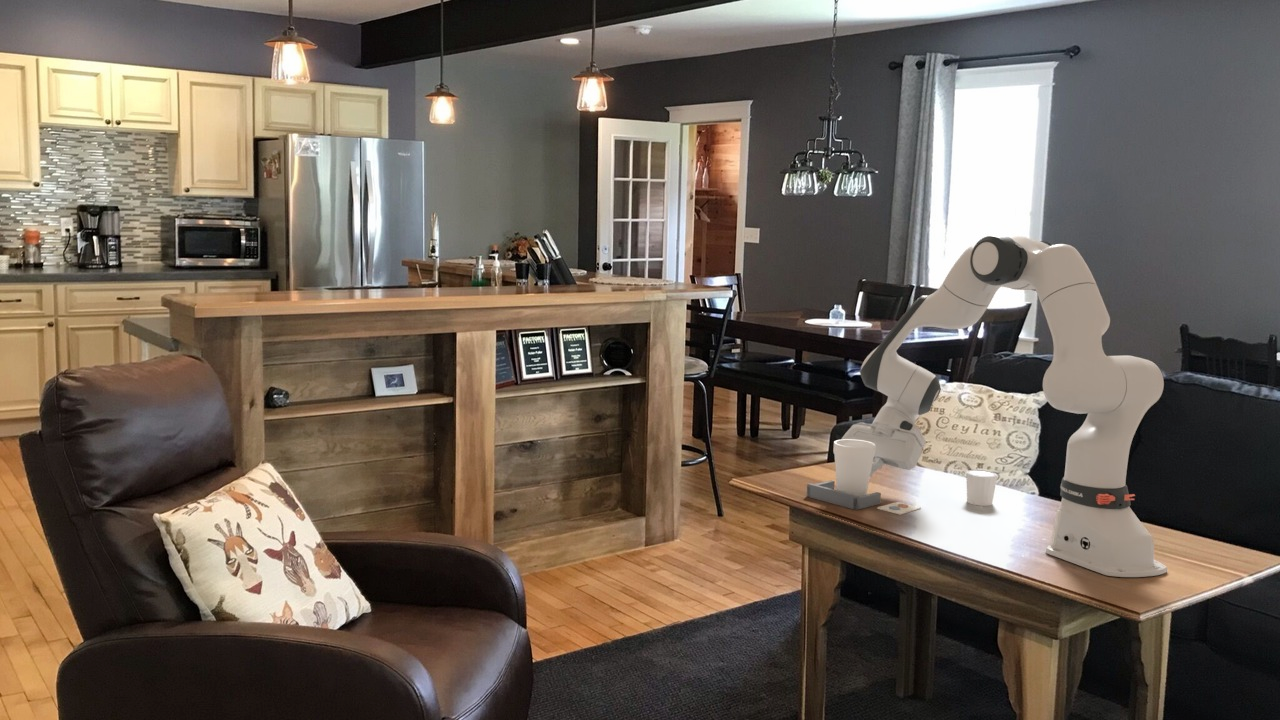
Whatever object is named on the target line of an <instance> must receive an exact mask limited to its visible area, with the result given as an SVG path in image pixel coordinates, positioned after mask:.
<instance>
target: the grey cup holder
mask: <svg viewBox="0 0 1280 720" xmlns="http://www.w3.org/2000/svg"><path fill="white" fill-rule="evenodd" d="M835 482H836V480H827V481H823V482H818V483H807V484H806V497H807V498H810V499H815V500H818V501H821V502H822V501H823V502H826V503H829V504H833V505H837V506H840V507H843V508H848V509H851V510H855V511H857V510H863V509H865V508H869V507H874V506H877V505H880V504H881V499H882V496H881V495H882V492H878V491H875V492H872V493H867V494H866V495H864V496H858V495H854V494H850V493H846V492H842V491H838V490H837V489H835Z"/></svg>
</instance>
